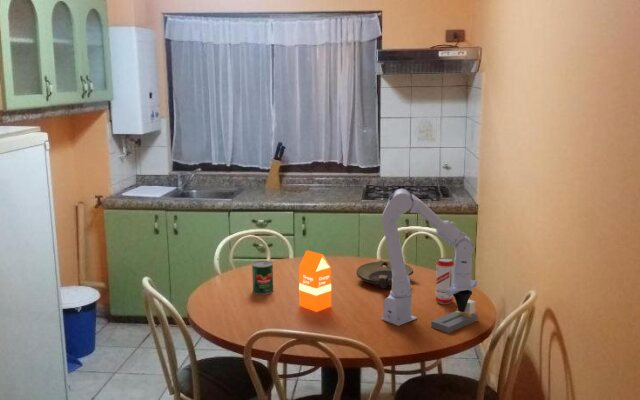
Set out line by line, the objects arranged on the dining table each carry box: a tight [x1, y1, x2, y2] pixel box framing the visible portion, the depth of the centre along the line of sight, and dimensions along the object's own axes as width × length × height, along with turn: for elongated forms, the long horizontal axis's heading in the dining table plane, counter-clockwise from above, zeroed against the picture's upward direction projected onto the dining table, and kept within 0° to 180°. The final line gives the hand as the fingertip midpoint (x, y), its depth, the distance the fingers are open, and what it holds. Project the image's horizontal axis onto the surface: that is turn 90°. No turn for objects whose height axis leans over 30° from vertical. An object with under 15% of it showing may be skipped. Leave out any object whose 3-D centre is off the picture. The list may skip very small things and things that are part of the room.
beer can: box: [435, 257, 454, 305], centre depth 226 cm, size 6×6×16 cm
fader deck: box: [430, 310, 479, 334], centre depth 208 cm, size 16×7×2 cm, turn 132°
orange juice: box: [298, 250, 332, 313], centre depth 223 cm, size 8×9×20 cm
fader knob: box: [456, 299, 476, 315], centre depth 211 cm, size 3×5×4 cm, turn 42°
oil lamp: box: [356, 260, 414, 289], centre depth 249 cm, size 22×30×8 cm
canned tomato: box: [251, 260, 274, 296], centre depth 241 cm, size 8×8×11 cm
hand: (461, 311), depth 209 cm, fingers closed
